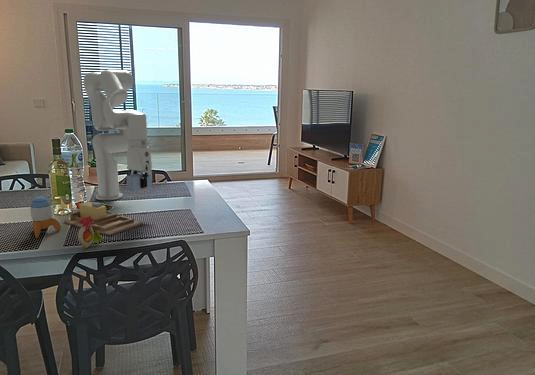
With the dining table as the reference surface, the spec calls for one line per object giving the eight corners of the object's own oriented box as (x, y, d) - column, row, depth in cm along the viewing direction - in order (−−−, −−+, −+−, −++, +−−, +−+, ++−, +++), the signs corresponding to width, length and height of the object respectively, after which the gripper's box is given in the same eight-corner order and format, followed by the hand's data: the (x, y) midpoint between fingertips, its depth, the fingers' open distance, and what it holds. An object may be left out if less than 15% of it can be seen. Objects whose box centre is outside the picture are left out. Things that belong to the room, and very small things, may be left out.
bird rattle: (95, 254, 146) (106, 236, 153) (85, 230, 139) (97, 212, 146) (78, 253, 147) (90, 235, 154) (67, 229, 140) (80, 212, 147)
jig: (64, 222, 172) (63, 215, 171) (98, 213, 185) (97, 206, 184) (109, 236, 157) (109, 228, 157) (143, 224, 170) (142, 217, 170)
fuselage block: (80, 217, 176) (78, 201, 174) (88, 215, 179) (87, 199, 177) (98, 223, 169) (97, 205, 168) (107, 220, 173) (105, 203, 171)
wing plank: (127, 189, 175) (126, 175, 173) (145, 185, 183) (145, 171, 181) (133, 191, 173) (133, 177, 171) (152, 186, 181) (151, 172, 179)
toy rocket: (40, 241, 154) (25, 203, 150) (25, 240, 160) (10, 203, 156) (65, 229, 162) (51, 193, 158) (50, 229, 168) (36, 193, 164)
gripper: (159, 144, 172) (160, 188, 177) (131, 140, 180) (133, 181, 185) (145, 146, 166) (147, 191, 171) (116, 142, 174) (119, 185, 179)
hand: (140, 186), depth 178 cm, fingers closed on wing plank, 4 cm apart
